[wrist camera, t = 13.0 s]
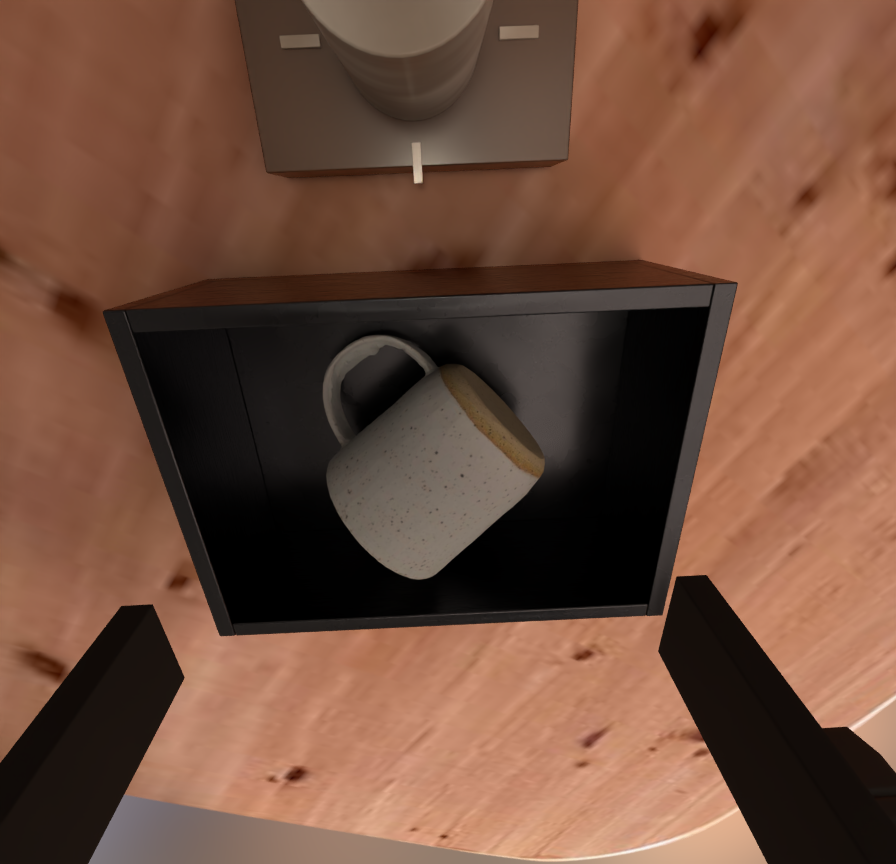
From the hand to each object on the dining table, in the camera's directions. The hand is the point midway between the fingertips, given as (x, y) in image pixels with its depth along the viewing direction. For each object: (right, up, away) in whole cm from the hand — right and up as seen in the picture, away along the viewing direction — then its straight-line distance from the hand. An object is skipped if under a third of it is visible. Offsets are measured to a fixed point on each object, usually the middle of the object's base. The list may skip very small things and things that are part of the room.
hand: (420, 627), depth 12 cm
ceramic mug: (-1, +6, +13) cm, 15 cm away
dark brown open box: (0, +6, +14) cm, 15 cm away
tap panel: (-1, +21, +7) cm, 22 cm away
